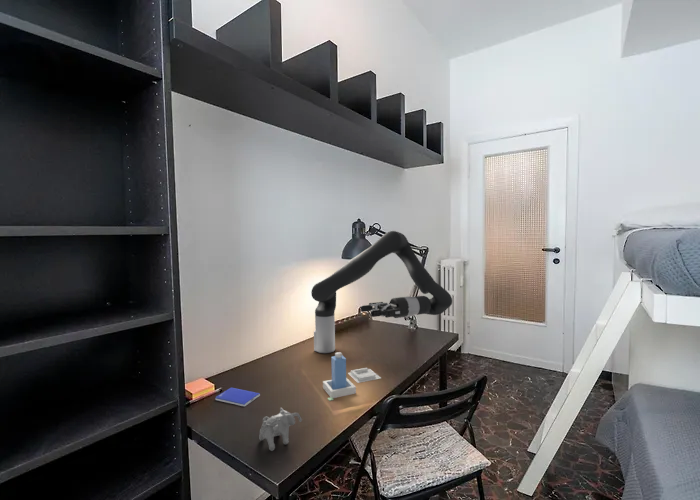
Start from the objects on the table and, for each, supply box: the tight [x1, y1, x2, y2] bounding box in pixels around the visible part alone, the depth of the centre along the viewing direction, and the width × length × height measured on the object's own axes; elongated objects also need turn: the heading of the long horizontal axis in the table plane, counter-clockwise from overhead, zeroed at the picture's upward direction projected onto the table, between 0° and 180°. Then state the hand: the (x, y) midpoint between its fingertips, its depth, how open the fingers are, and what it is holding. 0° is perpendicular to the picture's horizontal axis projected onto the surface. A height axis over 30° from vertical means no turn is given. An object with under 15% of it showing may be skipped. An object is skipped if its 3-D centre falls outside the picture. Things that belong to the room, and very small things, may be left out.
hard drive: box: [215, 387, 261, 407], centre depth 122 cm, size 2×8×12 cm
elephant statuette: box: [258, 406, 303, 452], centre depth 97 cm, size 9×12×8 cm
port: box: [322, 376, 357, 402], centre depth 124 cm, size 12×12×3 cm
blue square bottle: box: [331, 351, 347, 390], centre depth 124 cm, size 4×4×14 cm
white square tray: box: [347, 367, 382, 384], centre depth 137 cm, size 10×10×2 cm
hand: (365, 311), depth 127 cm, fingers open, 8 cm apart
